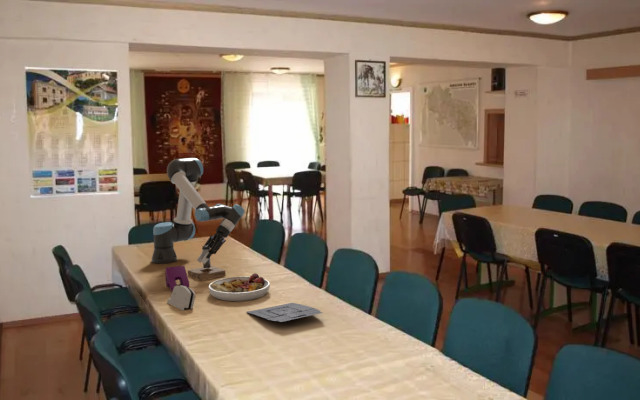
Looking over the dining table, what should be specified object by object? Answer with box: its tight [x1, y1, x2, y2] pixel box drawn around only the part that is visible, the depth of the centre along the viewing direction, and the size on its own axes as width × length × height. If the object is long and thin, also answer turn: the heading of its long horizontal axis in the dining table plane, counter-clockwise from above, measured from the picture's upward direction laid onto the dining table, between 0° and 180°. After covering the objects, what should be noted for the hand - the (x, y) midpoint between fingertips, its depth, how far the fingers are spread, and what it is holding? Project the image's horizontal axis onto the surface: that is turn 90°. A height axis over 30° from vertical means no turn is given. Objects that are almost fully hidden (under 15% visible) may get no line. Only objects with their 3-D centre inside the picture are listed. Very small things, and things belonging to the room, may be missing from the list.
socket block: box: [187, 265, 226, 281], centre depth 324 cm, size 15×15×3 cm
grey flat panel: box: [247, 302, 323, 323], centre depth 254 cm, size 24×30×4 cm
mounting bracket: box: [164, 265, 190, 292], centre depth 300 cm, size 10×9×19 cm
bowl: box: [208, 272, 271, 302], centre depth 289 cm, size 30×30×8 cm
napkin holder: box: [166, 285, 196, 311], centre depth 271 cm, size 17×5×10 cm, turn 41°
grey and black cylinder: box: [201, 245, 212, 268], centre depth 323 cm, size 4×4×12 cm
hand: (200, 261), depth 321 cm, fingers closed on grey and black cylinder, 4 cm apart
